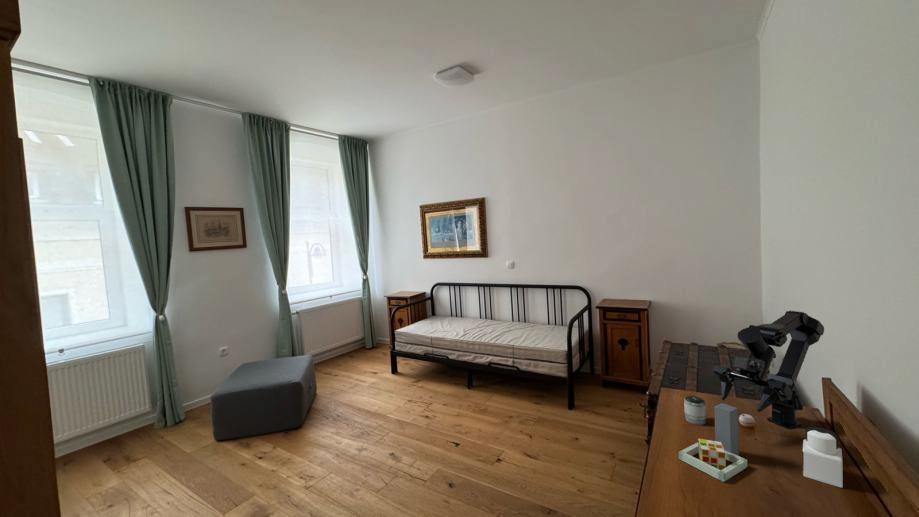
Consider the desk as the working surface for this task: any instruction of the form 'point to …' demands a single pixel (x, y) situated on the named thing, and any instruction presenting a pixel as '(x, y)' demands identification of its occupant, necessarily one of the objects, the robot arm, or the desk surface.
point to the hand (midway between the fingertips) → (739, 405)
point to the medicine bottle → (822, 456)
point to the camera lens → (695, 410)
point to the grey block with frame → (729, 438)
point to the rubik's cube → (712, 453)
